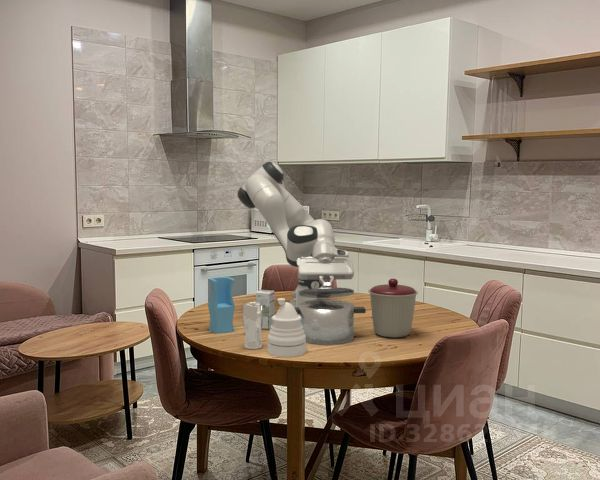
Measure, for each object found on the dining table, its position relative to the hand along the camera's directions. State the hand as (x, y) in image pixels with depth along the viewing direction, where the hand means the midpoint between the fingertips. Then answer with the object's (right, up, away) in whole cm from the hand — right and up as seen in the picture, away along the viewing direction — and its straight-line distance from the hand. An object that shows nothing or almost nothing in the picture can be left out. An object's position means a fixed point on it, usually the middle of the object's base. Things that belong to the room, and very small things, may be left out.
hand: (327, 287), depth 209 cm
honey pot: (-14, -21, -11) cm, 27 cm away
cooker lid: (0, -3, +6) cm, 6 cm away
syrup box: (-23, -17, +21) cm, 35 cm away
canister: (+25, -19, +11) cm, 33 cm away
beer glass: (-26, -20, -6) cm, 33 cm away
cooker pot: (0, -19, +7) cm, 20 cm away
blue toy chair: (-40, -18, +16) cm, 46 cm away
